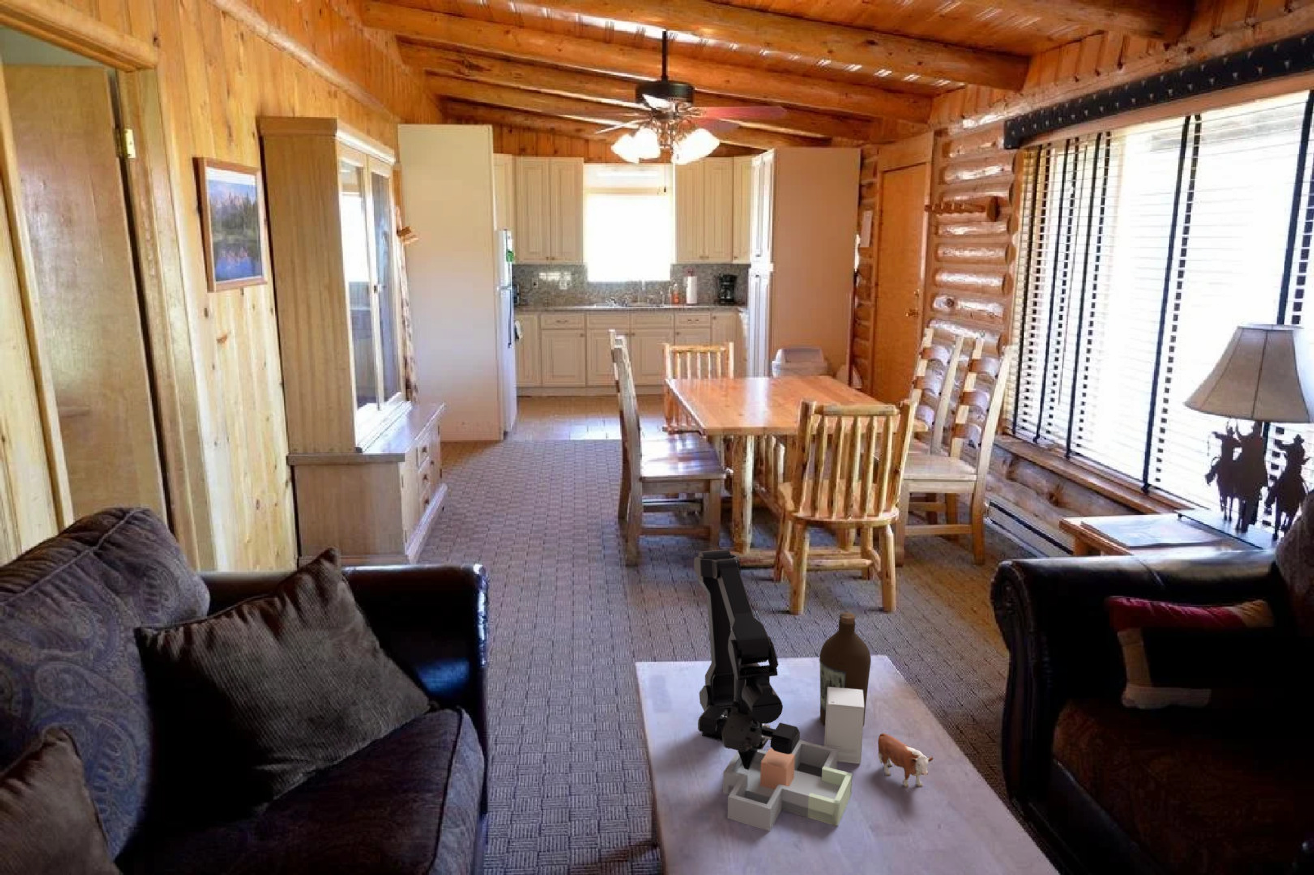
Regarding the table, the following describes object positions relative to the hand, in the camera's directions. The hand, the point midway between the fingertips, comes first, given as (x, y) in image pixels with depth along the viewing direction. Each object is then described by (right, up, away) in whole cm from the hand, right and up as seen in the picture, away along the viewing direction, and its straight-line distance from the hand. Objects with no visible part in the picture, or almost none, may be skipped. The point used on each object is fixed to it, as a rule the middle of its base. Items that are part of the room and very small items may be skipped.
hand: (747, 768), depth 168 cm
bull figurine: (+30, -3, +1) cm, 31 cm away
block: (+5, -2, -2) cm, 6 cm away
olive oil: (+23, +2, +21) cm, 31 cm away
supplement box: (+20, -1, +11) cm, 23 cm away
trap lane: (+7, -4, -3) cm, 9 cm away
